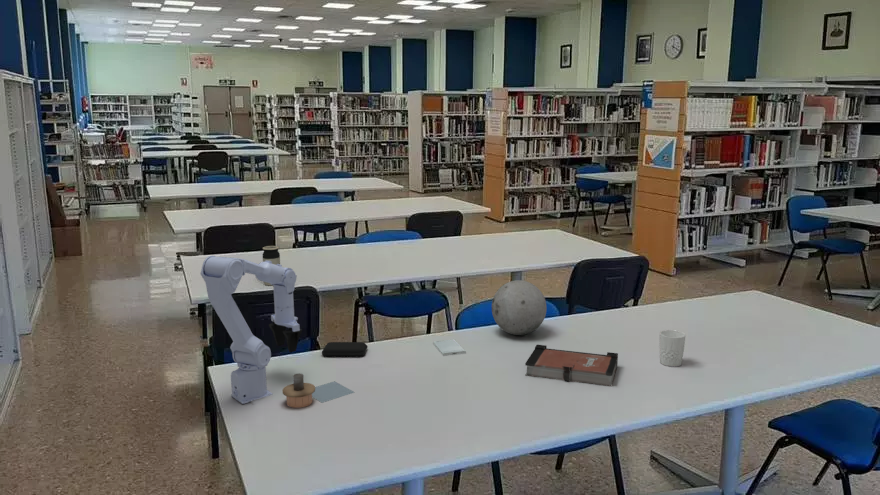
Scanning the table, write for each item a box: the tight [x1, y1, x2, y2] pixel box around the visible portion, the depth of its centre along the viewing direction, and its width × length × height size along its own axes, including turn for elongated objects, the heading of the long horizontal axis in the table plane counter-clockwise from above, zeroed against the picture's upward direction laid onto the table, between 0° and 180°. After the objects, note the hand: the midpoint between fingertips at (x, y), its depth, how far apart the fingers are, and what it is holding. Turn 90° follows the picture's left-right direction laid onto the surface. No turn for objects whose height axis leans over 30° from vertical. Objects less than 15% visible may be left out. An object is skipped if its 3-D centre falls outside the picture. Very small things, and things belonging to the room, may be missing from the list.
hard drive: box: [432, 338, 467, 357], centre depth 234 cm, size 2×8×12 cm
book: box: [524, 344, 619, 387], centre depth 212 cm, size 26×18×5 cm
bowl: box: [285, 394, 313, 409], centre depth 190 cm, size 7×7×4 cm
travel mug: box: [262, 245, 281, 287], centre depth 323 cm, size 8×8×18 cm
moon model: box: [491, 279, 547, 336], centre depth 247 cm, size 20×20×20 cm
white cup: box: [659, 329, 687, 368], centre depth 218 cm, size 8×8×10 cm
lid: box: [282, 373, 316, 397], centre depth 189 cm, size 9×9×5 cm
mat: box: [312, 380, 355, 404], centre depth 198 cm, size 11×11×1 cm
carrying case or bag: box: [321, 341, 368, 358], centre depth 231 cm, size 11×3×15 cm
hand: (286, 348), depth 208 cm, fingers open, 7 cm apart
